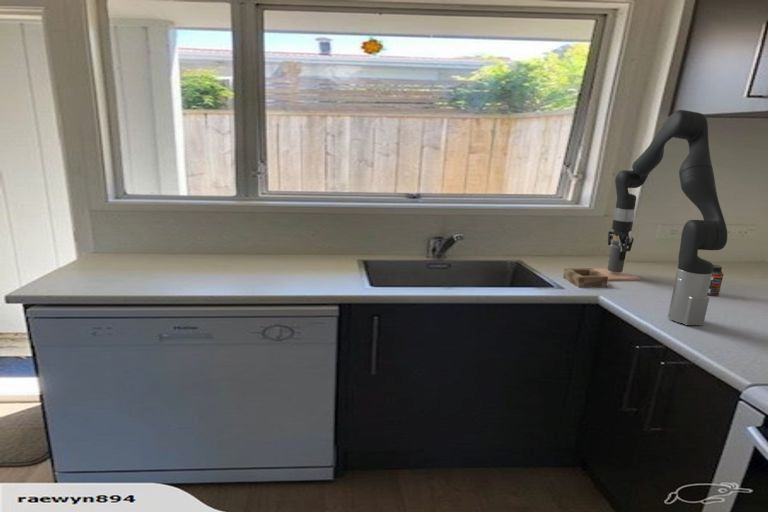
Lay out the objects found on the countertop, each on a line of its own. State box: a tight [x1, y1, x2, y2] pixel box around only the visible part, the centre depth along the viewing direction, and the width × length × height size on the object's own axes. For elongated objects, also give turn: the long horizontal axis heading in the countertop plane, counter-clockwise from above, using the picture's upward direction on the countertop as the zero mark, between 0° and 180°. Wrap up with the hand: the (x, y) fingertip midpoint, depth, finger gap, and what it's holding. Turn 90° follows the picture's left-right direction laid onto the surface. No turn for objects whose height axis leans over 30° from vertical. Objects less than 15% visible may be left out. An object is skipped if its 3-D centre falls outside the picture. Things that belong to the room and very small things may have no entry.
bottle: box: [607, 236, 625, 272], centre depth 193 cm, size 6×6×15 cm
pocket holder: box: [563, 267, 609, 288], centre depth 186 cm, size 12×12×4 cm
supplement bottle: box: [707, 264, 724, 297], centre depth 174 cm, size 6×6×11 cm
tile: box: [593, 268, 641, 282], centre depth 196 cm, size 14×14×1 cm
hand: (617, 258), depth 194 cm, fingers closed on bottle, 5 cm apart
